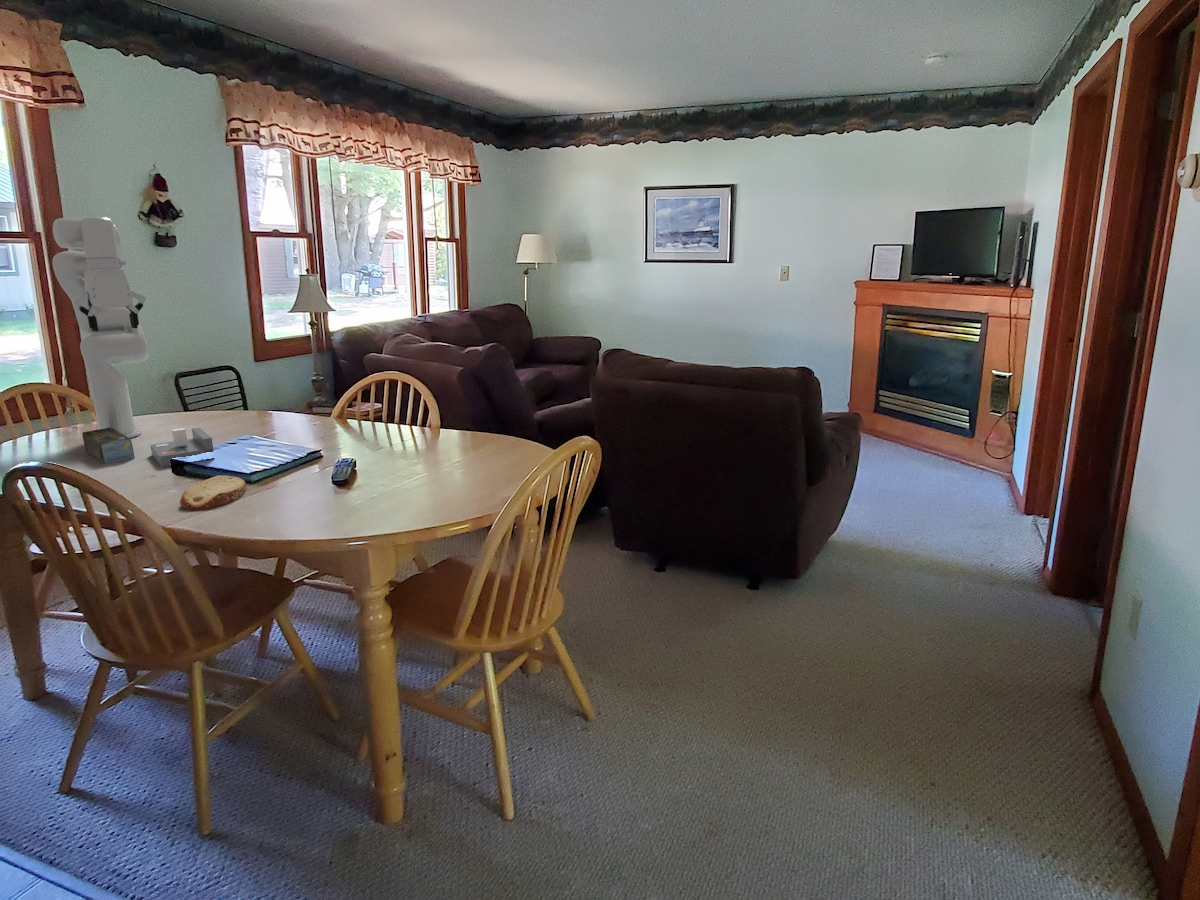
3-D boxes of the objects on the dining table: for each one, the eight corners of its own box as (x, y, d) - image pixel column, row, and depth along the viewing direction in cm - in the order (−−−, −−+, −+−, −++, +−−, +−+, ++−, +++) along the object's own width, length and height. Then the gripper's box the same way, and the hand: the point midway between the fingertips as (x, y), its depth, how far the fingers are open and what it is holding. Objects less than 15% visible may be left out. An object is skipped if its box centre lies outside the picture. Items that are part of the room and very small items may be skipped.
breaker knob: (174, 445, 219) (171, 429, 217) (186, 443, 220) (183, 427, 219) (176, 446, 217) (173, 431, 216) (187, 445, 219) (185, 429, 217)
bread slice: (232, 481, 198) (230, 466, 197) (269, 494, 187) (267, 479, 186) (157, 499, 185) (155, 484, 184) (192, 515, 174) (190, 499, 173)
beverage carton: (103, 465, 213) (99, 441, 212) (84, 452, 226) (80, 430, 225) (135, 459, 219) (131, 436, 217) (115, 447, 232) (111, 425, 230)
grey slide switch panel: (151, 455, 222) (148, 434, 220) (202, 447, 229) (199, 427, 228) (162, 467, 210) (158, 445, 208) (214, 458, 217) (211, 437, 216)
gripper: (134, 264, 219) (145, 326, 223) (62, 266, 207) (74, 331, 211) (144, 264, 214) (154, 327, 218) (70, 266, 202) (83, 333, 206)
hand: (115, 329), depth 215 cm, fingers open, 9 cm apart
